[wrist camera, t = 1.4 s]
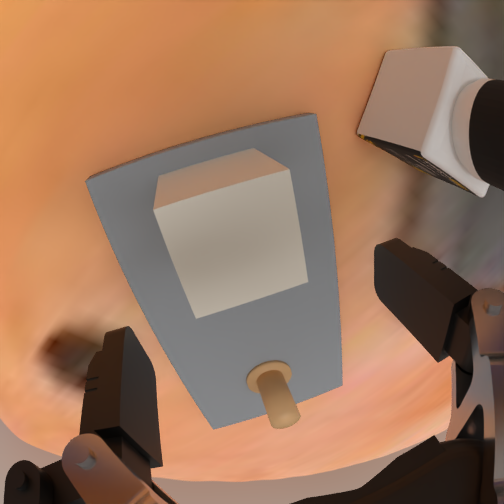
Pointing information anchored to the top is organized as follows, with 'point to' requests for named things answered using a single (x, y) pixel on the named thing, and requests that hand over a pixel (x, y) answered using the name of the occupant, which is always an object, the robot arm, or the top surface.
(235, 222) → the beige cube block
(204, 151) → the board
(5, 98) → the top surface
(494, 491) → the robot arm
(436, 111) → the medicine bottle
